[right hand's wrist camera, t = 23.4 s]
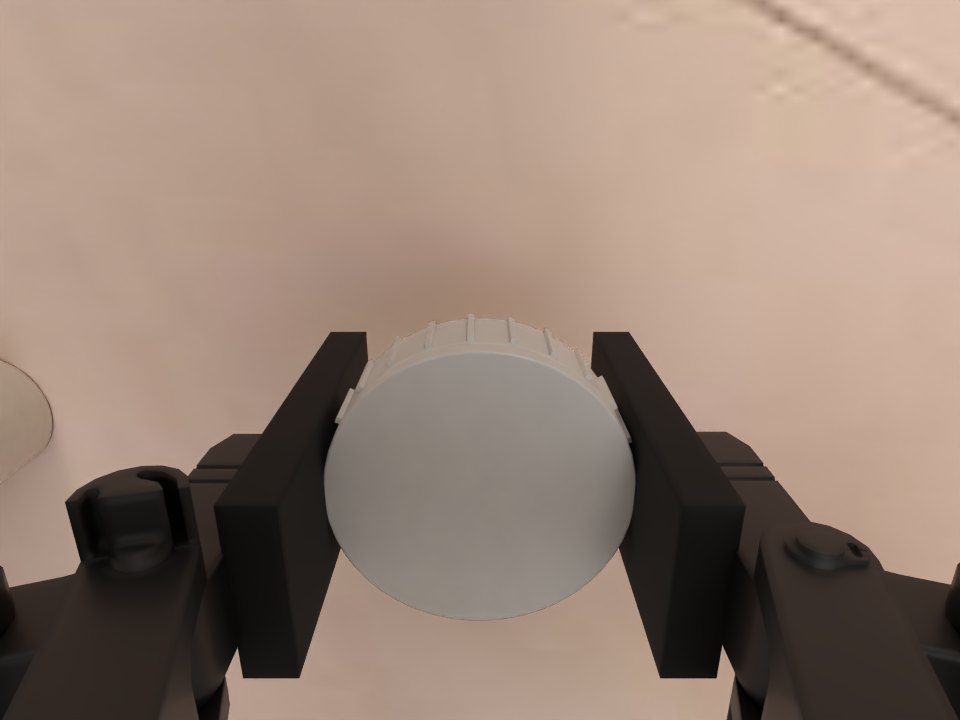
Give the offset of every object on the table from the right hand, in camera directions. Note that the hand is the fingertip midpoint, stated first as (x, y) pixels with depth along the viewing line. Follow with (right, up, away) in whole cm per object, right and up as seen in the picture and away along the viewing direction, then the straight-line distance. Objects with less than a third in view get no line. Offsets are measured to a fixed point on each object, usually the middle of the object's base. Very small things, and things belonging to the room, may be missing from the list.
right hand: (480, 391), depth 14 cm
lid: (0, -1, -4) cm, 4 cm away
